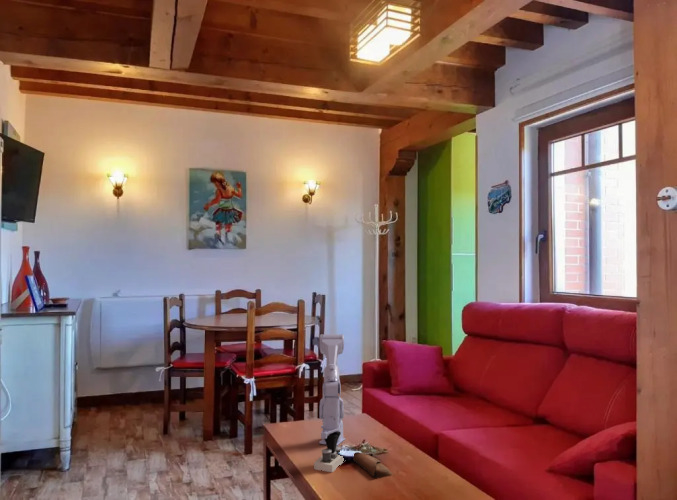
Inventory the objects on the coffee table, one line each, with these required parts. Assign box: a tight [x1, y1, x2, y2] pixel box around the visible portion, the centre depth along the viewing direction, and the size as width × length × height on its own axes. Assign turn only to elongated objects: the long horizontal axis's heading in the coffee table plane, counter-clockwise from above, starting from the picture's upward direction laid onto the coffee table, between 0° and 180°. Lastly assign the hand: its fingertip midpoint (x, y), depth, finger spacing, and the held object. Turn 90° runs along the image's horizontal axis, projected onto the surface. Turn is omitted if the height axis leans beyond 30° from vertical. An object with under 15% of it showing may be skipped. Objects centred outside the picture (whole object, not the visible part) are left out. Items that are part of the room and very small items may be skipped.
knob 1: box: [321, 448, 332, 462], centre depth 193 cm, size 4×4×4 cm
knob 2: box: [335, 445, 342, 455], centre depth 201 cm, size 4×4×4 cm
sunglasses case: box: [352, 451, 394, 479], centre depth 193 cm, size 18×7×7 cm
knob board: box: [313, 455, 345, 473], centre depth 197 cm, size 15×7×2 cm, turn 158°
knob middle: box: [331, 451, 337, 459], centre depth 197 cm, size 4×4×4 cm
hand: (331, 452), depth 197 cm, fingers closed, pressing on knob middle
